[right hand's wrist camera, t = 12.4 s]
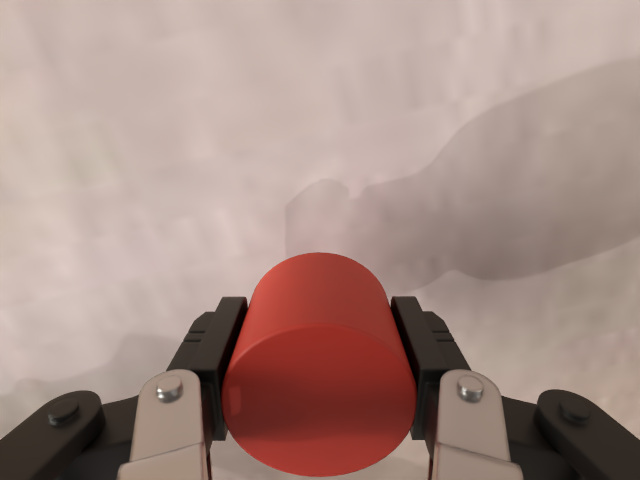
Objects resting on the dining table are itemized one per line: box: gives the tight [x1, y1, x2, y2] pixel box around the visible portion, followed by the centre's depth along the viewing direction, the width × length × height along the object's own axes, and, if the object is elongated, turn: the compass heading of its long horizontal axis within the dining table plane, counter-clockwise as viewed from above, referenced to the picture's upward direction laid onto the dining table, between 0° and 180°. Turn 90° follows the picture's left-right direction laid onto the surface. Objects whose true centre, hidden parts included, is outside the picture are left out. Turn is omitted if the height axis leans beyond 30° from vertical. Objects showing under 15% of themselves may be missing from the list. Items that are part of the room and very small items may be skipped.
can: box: [221, 253, 417, 477], centre depth 11 cm, size 5×5×4 cm
